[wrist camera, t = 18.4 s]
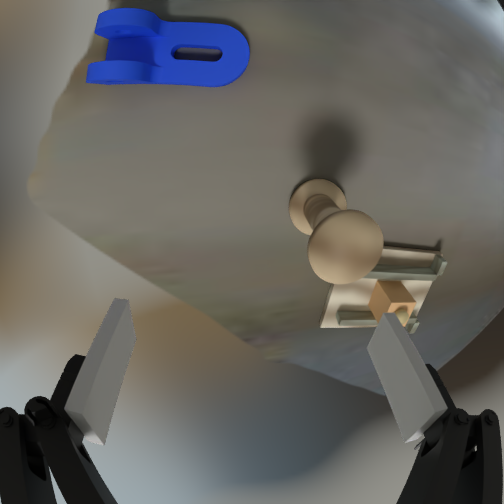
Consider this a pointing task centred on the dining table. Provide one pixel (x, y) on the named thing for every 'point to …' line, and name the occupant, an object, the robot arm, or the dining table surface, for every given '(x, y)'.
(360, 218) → the bobbin
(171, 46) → the bracket
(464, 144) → the dining table surface
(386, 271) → the board
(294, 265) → the dining table surface
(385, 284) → the tab
